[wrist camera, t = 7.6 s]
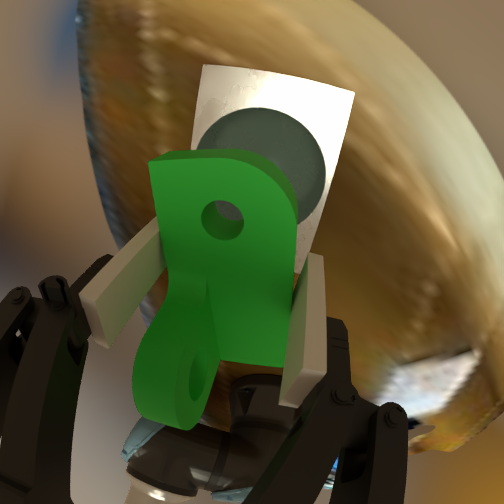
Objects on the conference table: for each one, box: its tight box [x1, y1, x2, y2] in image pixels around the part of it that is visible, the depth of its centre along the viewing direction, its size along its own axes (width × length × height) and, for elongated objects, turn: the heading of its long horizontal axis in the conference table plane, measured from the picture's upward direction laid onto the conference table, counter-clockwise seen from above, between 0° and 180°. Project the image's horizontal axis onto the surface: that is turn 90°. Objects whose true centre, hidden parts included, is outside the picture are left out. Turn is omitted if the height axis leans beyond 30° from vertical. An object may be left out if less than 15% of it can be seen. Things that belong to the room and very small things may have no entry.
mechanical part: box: [132, 149, 298, 430], centre depth 11 cm, size 12×6×8 cm, turn 2°
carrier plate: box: [191, 64, 355, 274], centre depth 26 cm, size 20×14×1 cm
